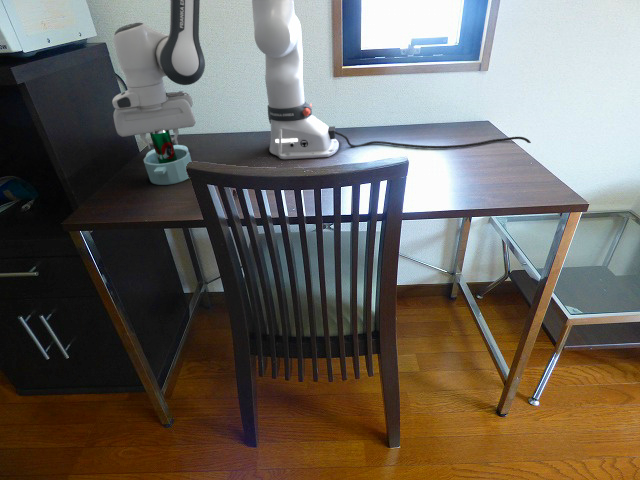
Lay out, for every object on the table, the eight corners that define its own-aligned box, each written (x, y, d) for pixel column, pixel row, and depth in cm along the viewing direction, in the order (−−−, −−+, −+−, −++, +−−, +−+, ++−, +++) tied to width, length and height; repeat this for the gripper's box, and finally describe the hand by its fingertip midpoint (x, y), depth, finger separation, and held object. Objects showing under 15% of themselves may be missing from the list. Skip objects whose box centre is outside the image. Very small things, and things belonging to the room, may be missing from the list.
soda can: (181, 164, 113) (170, 124, 107) (174, 171, 109) (162, 130, 102) (165, 165, 114) (153, 124, 107) (158, 172, 110) (145, 130, 103)
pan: (199, 162, 120) (195, 143, 117) (186, 187, 105) (180, 166, 102) (159, 165, 120) (154, 146, 117) (141, 190, 105) (133, 170, 102)
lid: (192, 146, 132) (189, 134, 130) (183, 161, 121) (179, 148, 119) (154, 149, 132) (150, 137, 130) (141, 164, 121) (137, 152, 119)
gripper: (189, 87, 105) (200, 137, 113) (108, 97, 100) (126, 148, 108) (190, 92, 100) (202, 144, 108) (105, 103, 95) (124, 156, 103)
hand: (163, 146), depth 108 cm, fingers closed on soda can, 5 cm apart
